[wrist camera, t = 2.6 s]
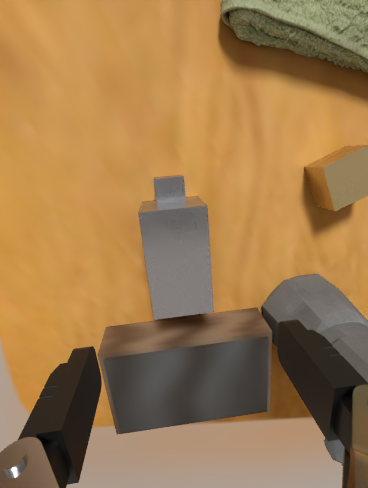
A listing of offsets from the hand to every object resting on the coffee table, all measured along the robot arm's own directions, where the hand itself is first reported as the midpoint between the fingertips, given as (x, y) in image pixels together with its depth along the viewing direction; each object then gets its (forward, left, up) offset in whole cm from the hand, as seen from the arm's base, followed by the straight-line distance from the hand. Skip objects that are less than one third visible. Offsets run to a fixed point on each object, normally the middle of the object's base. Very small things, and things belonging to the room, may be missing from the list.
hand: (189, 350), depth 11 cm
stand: (0, +13, -14) cm, 19 cm away
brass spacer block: (-15, -5, -15) cm, 22 cm away
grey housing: (0, 0, -14) cm, 14 cm away
